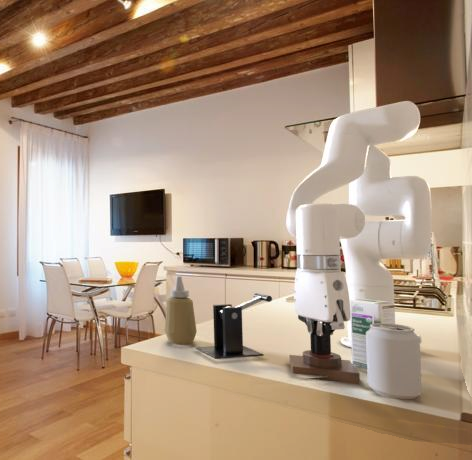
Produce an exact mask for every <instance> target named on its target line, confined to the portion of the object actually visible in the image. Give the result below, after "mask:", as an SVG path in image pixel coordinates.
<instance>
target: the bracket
mask: <svg viewBox="0 0 472 460" xmlns="http://www.w3.org/2000/svg"><path fill="white" fill-rule="evenodd" d="M227 306H229V307H227ZM212 308H213V309H212V312H213V314H212V315H213V345H210V346H208V345H207V346H196V347H195V349H196V350H198V351H200V352H202V353H204V354H206V355H207V356H209V357H211V358H213V359H215V360H216V359H217V360H218V359H219V360H220V359H233V358H246V357H260V356H261V357H262V356H263V357H264V354H263V353H262V352H259V351H258V350H257V351H256V350H255V349H252V348H249V347H247V346H244V341H243V339H244V338H243V337H244V336H243V335H244V333H243V310H242V307H236V306H233V305H232V304H230V303H226V304H213V305H212ZM221 309H222V314H223V320H222V319H221V316H220V314H219V311H218V310H221Z"/></svg>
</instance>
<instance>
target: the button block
mask: <svg viewBox="0 0 472 460" xmlns="http://www.w3.org/2000/svg"><path fill="white" fill-rule="evenodd" d="M331 354H332V357H327V358H326V357H318V356H313V355H311V349H310V350H309V349H307V350H304V351H302V355H295V354H289V355H288V360H289V364H290V368H291V372H292V374H299V375H308V376H317V377H308V378H306V380H316V381H323V382H332V383H342V384H351V385H360V384H361V377H360V375H361V374H360V372H359V370H357V368H356V367H355V365H353V364H352V360H349V359H342V357H341V355H340V354H339V353H335V352H332V351H331Z"/></svg>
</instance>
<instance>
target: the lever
mask: <svg viewBox="0 0 472 460" xmlns="http://www.w3.org/2000/svg"><path fill="white" fill-rule="evenodd" d="M272 301H273V297H272V296H271V295H268V294H262V293H257V292H256V293H254V294H253V298H251V299H249V300H247V301H245V302H242V303H241V304H238V305H236V306H235V307H242V311H243V310H245V309H248V308H250V307H252V306H255V305H256V304H258V303H260V302H266V303H267V302H268V303H270V302H272ZM227 307H229V306H227ZM218 311H219V314H220V316H221V319H222V320H223V314H222V309H221V310H218Z"/></svg>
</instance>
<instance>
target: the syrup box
mask: <svg viewBox="0 0 472 460" xmlns="http://www.w3.org/2000/svg"><path fill="white" fill-rule="evenodd" d="M395 308H396V304H395V301H394V302H386V301H377V300H368V299H354V300H351V301H350V312H351V343H352V348H351V363H352V364H353V365H354V366H356V367H361V368H364V369H367V351H366V332H367V331H368V330H369V329H370V328H371V327H370V324H374V323H388V324H396V309H395Z"/></svg>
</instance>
